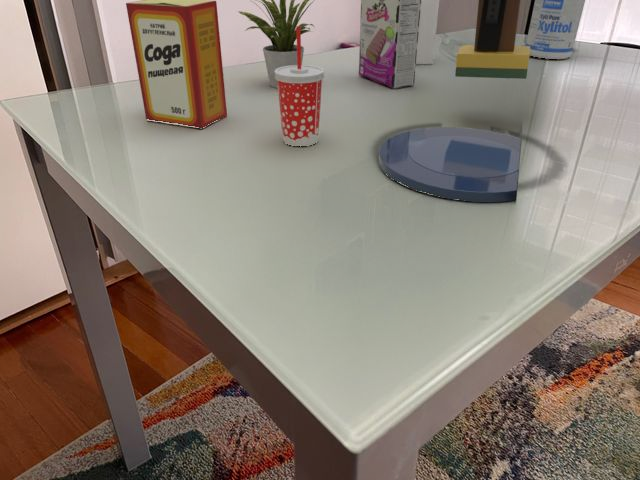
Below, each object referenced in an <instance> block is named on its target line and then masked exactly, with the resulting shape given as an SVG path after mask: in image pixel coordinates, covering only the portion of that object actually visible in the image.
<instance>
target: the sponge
mask: <svg viewBox="0 0 640 480" xmlns="http://www.w3.org/2000/svg"><path fill="white" fill-rule="evenodd" d="M483 3H484V0H478V3H477V14H476V15H477V16H476V24H475V26H476V27H475V35H474V36H475V37H474V45H472V44H471V45H469V44H467V45H461V47H460V48H459V50H458V52H457V54H456V63H455V72H454V73H455V75H454V77H456V78H457V77H458V78H484V79H485V78H487V79H519V80H521V79H522V80H526V79H527V76H528V69H529V64H530V63H529V62H530V57H531V56H530V46H526V45H516V37H517V32H518V31H517V30H518V24H519V23H518V22H519V15H520V7H521V0H507V1H506V7H505V13H504V19H503V24H502V30H501V36H500V42H499V48H498V51H494V50H480V49H477V43H478V36H479V29H480V23H481V16H482V9H483Z"/></svg>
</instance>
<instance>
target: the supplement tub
mask: <svg viewBox="0 0 640 480" xmlns="http://www.w3.org/2000/svg"><path fill="white" fill-rule="evenodd" d="M585 3H586V0H534V4H533V7H532V8H533V9H532V15H531V18H530V24H529V27H528V33H527V37H526V44H525V46H530V56H529V57H531V56H533V57H532V58H535V57H538V58H537V59H541V58H545V59H544V60H549V59H557V60H565V59H568V57H569V58H570V57H571V56H572V54H573V50H574V47H575V43H576V38H577V34H578V30H579V28H580V27H579V26H580V23H581V19H582V15H583V11H584V7H585Z"/></svg>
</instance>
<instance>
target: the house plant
mask: <svg viewBox="0 0 640 480" xmlns="http://www.w3.org/2000/svg"><path fill="white" fill-rule="evenodd" d="M249 1H250V2H252V3H253V4H255V5H256V6H257V7H258V8H259V9H260V10H261V11H262V12H263V13H265V11H264V10H263V9H262V8H261V7H260V6H259V5H258V4H257V3H255V2H256V1H257V2H259V3H260V4H262V5H263V7H264V8H265V9H266V11H267V14H268V15H269V17H270V18H269V17H268V15H267V14H265V16H266V17H267V18H268V20H269V21H270V23H271V24H272V26H271V24H270V23H268V22H267V20H265V19H263V18H261V17H260V16H258V15H256V14H253V13H250V12H246V11H237V13H239V14H240V15H243V16H246V18H247V19H248V20H249V21H251V22H253V23H254V24H255V26H254V25H252V26H249V27H247V28H246V29H245V30H244V32H246V31H249V30H253V29H260V31H261V32H262V33H263V34H264V35H265V36H266V37H267V38H268V39H269V40H270V43H271V44H270V45H266V46H264V47H263V48H262V52H263V56H264V61H265V67H266V71H267V76H268V80H269V85H270V87H272V88H274V89H278V85H277V80H276V79H275V74H274V71H275V70H276V69H277V68H280V67H284V66H291V65H297V44H295V42H296V41H297V29H296V27H297V26H300V28H301V35H303V34H305V33H309V32H311V33H313V31H311V28H310V27H307V26H311V27H313V28H315V25H314V24H313V23H300V24H299V22H300V20H301V18H302V17H303V15H304V14H305V13H306V11H307V10H308V8H309V7H310V6H311V5H312V4H313V3H314V2H315V1H316V0H313V1H311V2H310V3H309V1H310V0H303V1H302V3H301V2H299V3H297V4H295V2H296V0H290V2H289V7H288V15H287V0H279V5H278V6H279V7H278V6H277V4H276V2H275V0H270V1H269V0H254V1H255V2H254V1H253V0H249ZM300 3H301V4H300ZM308 3H309V4H308ZM294 4H295V5H294ZM307 4H308V5H307ZM306 5H307V6H306ZM298 7H299V8H298ZM305 7H306V8H305ZM304 8H305V9H304ZM303 10H304V11H303ZM298 24H299V25H298ZM304 53H305V47H304V46H302V45H301V65H303V59H304Z"/></svg>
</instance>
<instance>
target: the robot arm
mask: <svg viewBox="0 0 640 480" xmlns="http://www.w3.org/2000/svg"><path fill="white" fill-rule="evenodd" d="M506 1H507V0H484V3H483V9H482V16H481V23H480V29H479V36H478V43H477V49H480V50H494V51H498V48H499V42H500V36H501V30H502V24H503V19H504V13H505V7H506Z"/></svg>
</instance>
